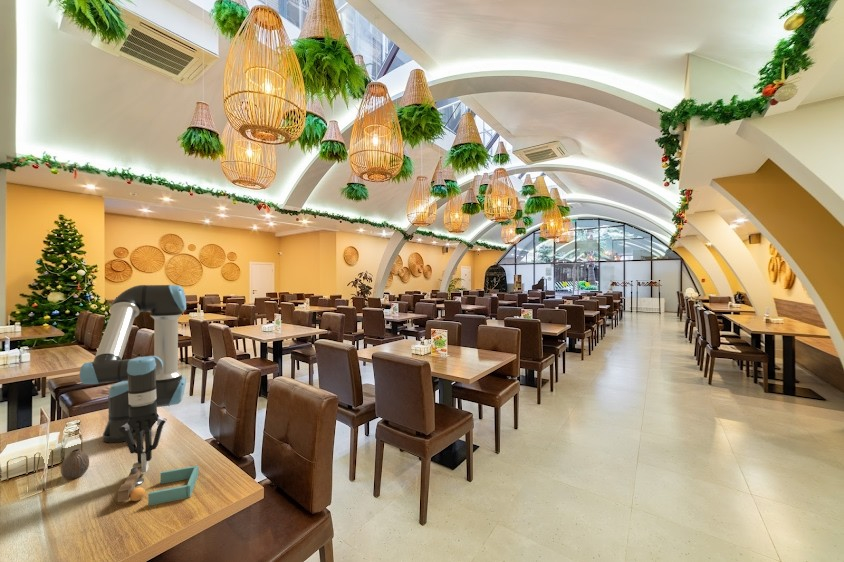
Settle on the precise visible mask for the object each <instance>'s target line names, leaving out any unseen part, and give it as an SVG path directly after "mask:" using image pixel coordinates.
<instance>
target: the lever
mask: <svg viewBox="0 0 844 562" xmlns="http://www.w3.org/2000/svg"><path fill="white" fill-rule="evenodd" d="M141 475H142V466H141V463H138V460H137V461H134V462H133V464H132V468H131V469H130V471H129V475H128V476H127V478H126V479H125V482H124V483H122V484H121V485H120V487H119V489H118V490H117V503H122V502H125V501H129V500H130V493H131V492H132V491H133V490H134V489H135V488H136V487H135V485H136V483H137V481H138V479H139V478H141V477H140V476H141Z"/></svg>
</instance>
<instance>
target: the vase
mask: <svg viewBox="0 0 844 562" xmlns="http://www.w3.org/2000/svg"><path fill="white" fill-rule="evenodd" d="M89 467H90V458H89V456H88V455H87V454H86V453H85V452H83V451H82V450H81V448H76V449H75V448H74V449H73V450H70V452H69V454H68V455H67V456H66V457H65V458H64V460H63V461H62V463H61V466H60V474H61V475H62V477H63V478H64V479H66V480H75V479H78V478H80V477H83V475H85V473H86V472H87V471H88V469H89Z"/></svg>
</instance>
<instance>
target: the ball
mask: <svg viewBox="0 0 844 562" xmlns="http://www.w3.org/2000/svg"><path fill="white" fill-rule="evenodd" d="M145 494H146V490H145V488H144V487H139V486H137V487H134V489H133V491H132V492H131V493H130V497H129V500H131V502H139V501H140V500H141V499H142V498H144V496H145Z"/></svg>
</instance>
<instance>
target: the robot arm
mask: <svg viewBox="0 0 844 562" xmlns="http://www.w3.org/2000/svg"><path fill="white" fill-rule="evenodd" d="M186 310H187V300H186V292H185V290H184V288H183V286H181V285H175V284H141V285H135V286H132V287H130V288H127V289H126V290H124V291H122V292H121V293H120V294H119V295H117V297H116V298H115V299H114V300H113V301H112V303H111V304H110V308H109V313H110V315H109V319H108V322H107V324H106V327H105V330H104V332H103V335H102V337H101V340H100V342H99V344H98V348H97V350H96V353H95V356H94V359H93V361H90V362H84V363H83V364H82V365H81V366H80V370H79V380H80V382H81V384H83V385H99V384H107V383H114V382H115V383H114V384H112V385H111V386H110V387H109V389H108V396H107V398H108V420H107V423H106V426H105V428H104V431H103V434H102V442H104V441H105V442H104V443H106V442H110V443H109V444H112V443H111V442H117V443H123V441H124V442H126V445H127V448H128V450H129V453H130V454H137V456H136V457H137V461H138V463H141V466H142V472H141V474H144V473H147V471H148V469H149V461H151V460H152V452H153V450H156V449H157V447H158V446H159V442H160V440H161V439H160V438H161V435H162V431H163V427H164V425H165V423H166V422H167V418H161V417H160V416H159V414H158V408H160V407H161V408H162V407H167V406H168V407H171V406H175V405H179V404H180V403H181V402H182V401H183V397H184V394H185V389H186V382H187V381H186V380H187V378H186V377H184V376H183V373H182V372H180V371H179V367H178V366H179V362H178V361H179V344H178V343H179V318H180V317H182V316H183V312H185V311H186ZM142 312H144V313H145V312H149V316H150V318H152V319H153V320H154V325H153V327H154V329H153V330H154V332H153V333H154V335H153V337H154V342H153V343H154V344H153V347H154V349H153V351H154V352H153V353H154V355H147V356H140V357H139V356H137V357H134V358H127V359H122V358H123V356H124V353H125V350H126V347H127V344H128V340H129V336H130V335H131V334H130V333H131V330H132V327H133V324H134V321H135V318H137V317H138V316H139V315H140V313H142ZM116 382H117V383H116ZM154 425H157V428H156V430H155V435H154V438H153V439H152V437H153V436H152V429H153V427H154ZM143 434H145V435H143ZM134 438H135V439H134ZM152 440H153V442H152ZM144 441H145V443H144Z"/></svg>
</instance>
